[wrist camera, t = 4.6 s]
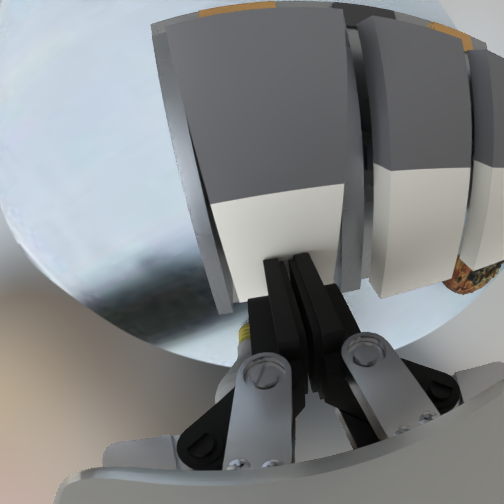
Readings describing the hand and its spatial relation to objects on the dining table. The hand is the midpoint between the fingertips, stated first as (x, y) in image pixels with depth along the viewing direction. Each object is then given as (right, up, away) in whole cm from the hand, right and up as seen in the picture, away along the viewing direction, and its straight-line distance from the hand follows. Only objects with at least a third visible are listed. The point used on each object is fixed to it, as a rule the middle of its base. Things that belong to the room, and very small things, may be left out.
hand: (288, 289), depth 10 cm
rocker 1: (-1, +4, -2) cm, 4 cm away
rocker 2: (+5, +5, -2) cm, 7 cm away
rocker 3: (+10, +6, -2) cm, 12 cm away
